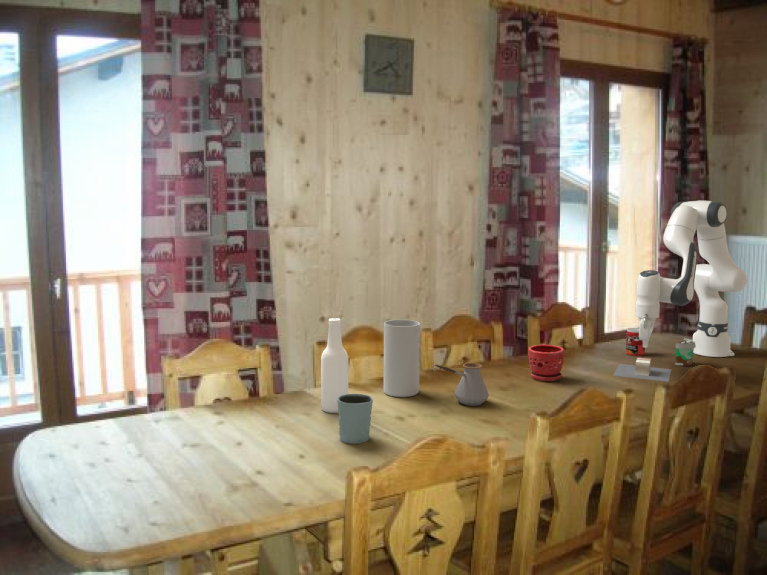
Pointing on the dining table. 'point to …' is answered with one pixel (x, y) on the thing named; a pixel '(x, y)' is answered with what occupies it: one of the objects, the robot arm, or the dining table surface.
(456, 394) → the coffee pot
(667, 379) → the mat
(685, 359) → the food container
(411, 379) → the cylinder vase
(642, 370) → the flip block
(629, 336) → the canned food
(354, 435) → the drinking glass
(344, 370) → the alcohol
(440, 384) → the dining table surface
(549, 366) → the plant pot
